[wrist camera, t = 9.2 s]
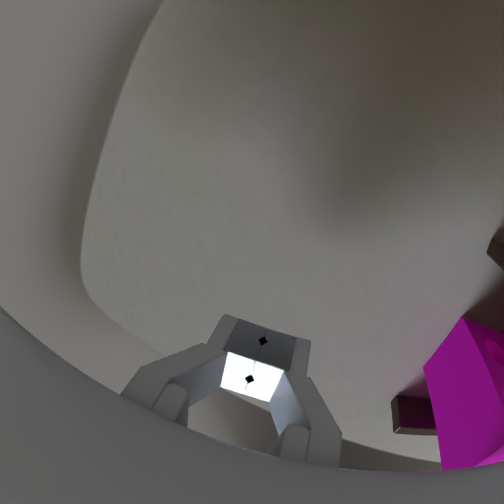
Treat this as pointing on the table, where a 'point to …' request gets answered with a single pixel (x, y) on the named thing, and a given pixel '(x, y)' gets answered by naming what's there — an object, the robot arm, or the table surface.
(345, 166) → the table surface
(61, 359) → the robot arm
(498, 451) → the toy block
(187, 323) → the table surface
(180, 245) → the table surface
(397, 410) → the bay
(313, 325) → the table surface
